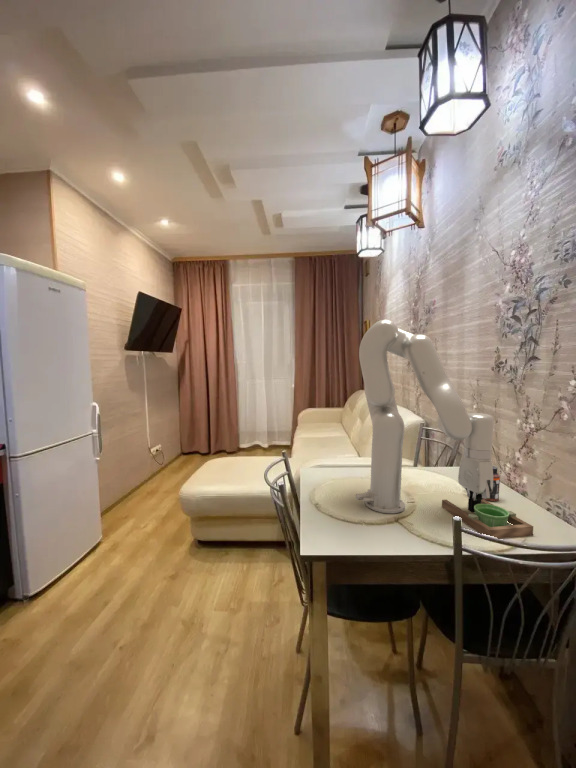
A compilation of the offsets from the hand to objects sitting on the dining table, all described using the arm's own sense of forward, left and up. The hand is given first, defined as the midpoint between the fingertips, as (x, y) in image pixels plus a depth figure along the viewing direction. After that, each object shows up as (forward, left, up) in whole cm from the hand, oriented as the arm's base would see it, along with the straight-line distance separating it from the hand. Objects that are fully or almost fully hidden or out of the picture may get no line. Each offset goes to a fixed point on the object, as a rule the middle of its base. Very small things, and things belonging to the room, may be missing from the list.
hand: (474, 511), depth 110 cm
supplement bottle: (+14, +10, -1) cm, 17 cm away
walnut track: (0, -3, -1) cm, 4 cm away
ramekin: (0, -7, -1) cm, 7 cm away
